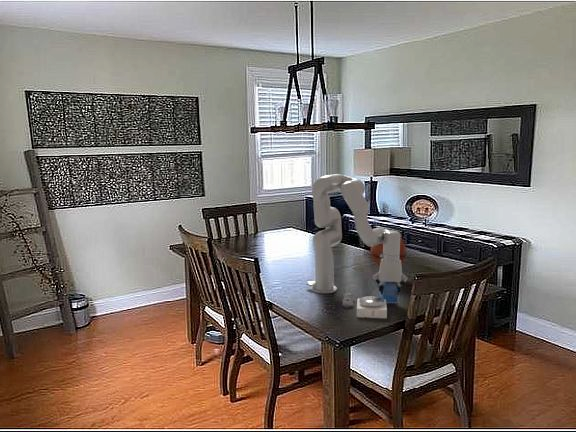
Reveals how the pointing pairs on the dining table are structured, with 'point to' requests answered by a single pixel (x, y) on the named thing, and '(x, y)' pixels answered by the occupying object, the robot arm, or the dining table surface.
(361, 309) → the scale
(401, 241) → the goblet
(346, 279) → the dining table surface
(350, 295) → the ring
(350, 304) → the spacer
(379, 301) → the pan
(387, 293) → the perfume bottle
